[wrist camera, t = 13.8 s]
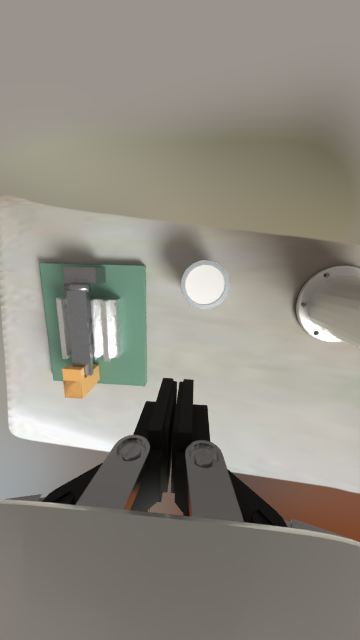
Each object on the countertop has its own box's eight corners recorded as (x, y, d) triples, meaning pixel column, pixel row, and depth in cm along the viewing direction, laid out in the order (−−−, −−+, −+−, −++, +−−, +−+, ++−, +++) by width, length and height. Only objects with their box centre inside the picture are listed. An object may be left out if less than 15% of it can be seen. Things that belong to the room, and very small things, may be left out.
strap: (67, 283, 33) (62, 283, 32) (90, 283, 32) (86, 284, 31) (74, 371, 36) (70, 375, 35) (95, 372, 36) (92, 376, 34)
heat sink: (119, 268, 36) (110, 268, 32) (123, 352, 39) (115, 361, 35) (62, 266, 36) (46, 266, 32) (70, 349, 40) (56, 358, 36)
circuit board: (145, 265, 37) (143, 265, 35) (146, 382, 42) (145, 386, 40) (45, 263, 38) (39, 263, 36) (58, 376, 43) (53, 380, 42)
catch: (98, 354, 39) (80, 369, 33) (99, 379, 40) (83, 398, 34) (82, 353, 39) (62, 368, 33) (84, 378, 41) (65, 397, 35)
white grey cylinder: (206, 310, 38) (208, 319, 31) (175, 285, 37) (170, 289, 30) (232, 279, 36) (240, 281, 29) (200, 252, 36) (201, 249, 29)
